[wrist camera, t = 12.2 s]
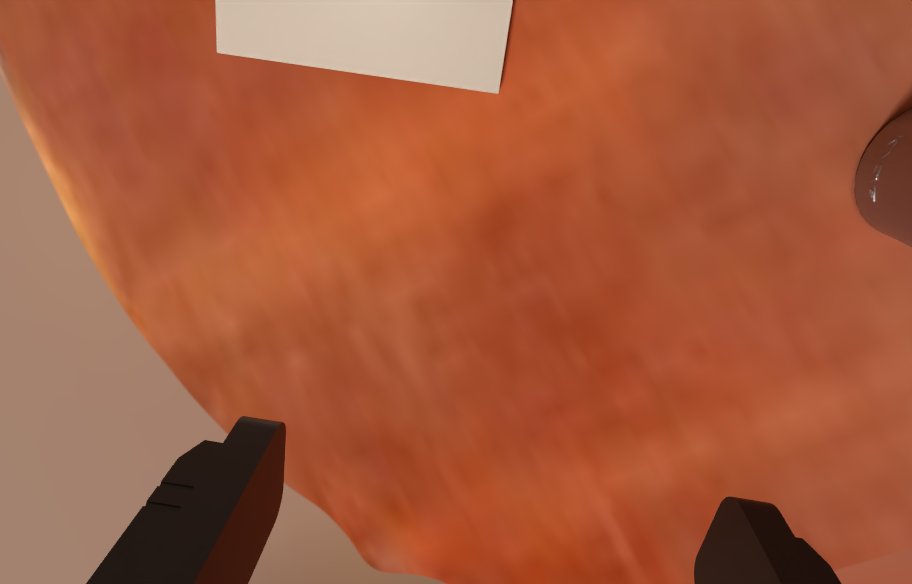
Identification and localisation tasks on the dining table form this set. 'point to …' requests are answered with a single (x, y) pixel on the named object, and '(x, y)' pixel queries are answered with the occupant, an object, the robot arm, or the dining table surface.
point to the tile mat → (374, 37)
